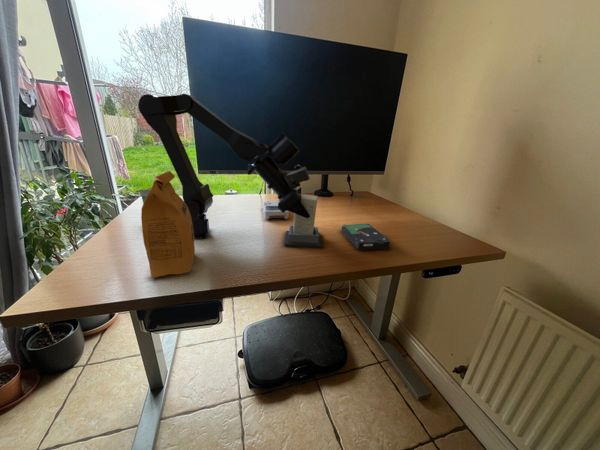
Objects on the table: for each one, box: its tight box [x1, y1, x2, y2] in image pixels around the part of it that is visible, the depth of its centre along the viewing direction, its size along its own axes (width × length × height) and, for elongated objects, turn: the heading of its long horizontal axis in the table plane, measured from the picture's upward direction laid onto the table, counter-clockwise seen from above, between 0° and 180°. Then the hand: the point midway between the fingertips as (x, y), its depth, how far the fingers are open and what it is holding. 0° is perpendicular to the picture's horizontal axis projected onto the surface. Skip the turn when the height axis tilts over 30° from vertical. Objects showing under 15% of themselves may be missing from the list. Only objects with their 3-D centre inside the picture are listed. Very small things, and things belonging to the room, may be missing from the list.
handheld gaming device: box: [262, 200, 290, 220], centre depth 97 cm, size 9×15×4 cm, turn 12°
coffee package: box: [140, 170, 196, 279], centre depth 55 cm, size 10×12×22 cm
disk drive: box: [341, 223, 391, 251], centre depth 78 cm, size 10×3×15 cm
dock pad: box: [284, 225, 323, 249], centre depth 75 cm, size 10×11×3 cm
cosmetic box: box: [292, 193, 319, 235], centre depth 73 cm, size 6×4×12 cm
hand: (308, 214), depth 73 cm, fingers closed on cosmetic box, 4 cm apart
